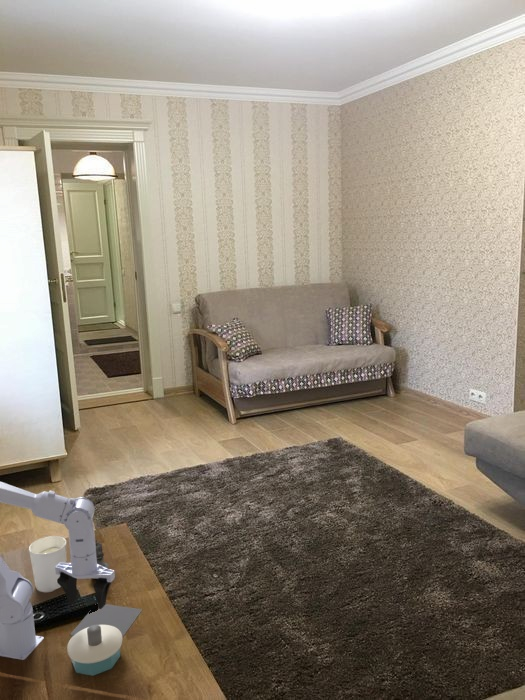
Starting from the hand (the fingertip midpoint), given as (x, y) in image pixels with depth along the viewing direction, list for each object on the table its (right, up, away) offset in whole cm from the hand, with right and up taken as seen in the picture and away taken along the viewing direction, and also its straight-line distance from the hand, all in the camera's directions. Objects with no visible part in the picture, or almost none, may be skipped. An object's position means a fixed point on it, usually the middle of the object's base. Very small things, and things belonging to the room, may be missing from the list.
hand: (87, 604), depth 141 cm
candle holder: (-18, -6, +26) cm, 32 cm away
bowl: (+3, -11, -5) cm, 12 cm away
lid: (+3, -7, -5) cm, 9 cm away
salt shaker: (-5, -5, +28) cm, 29 cm away
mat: (+3, -8, +8) cm, 12 cm away
